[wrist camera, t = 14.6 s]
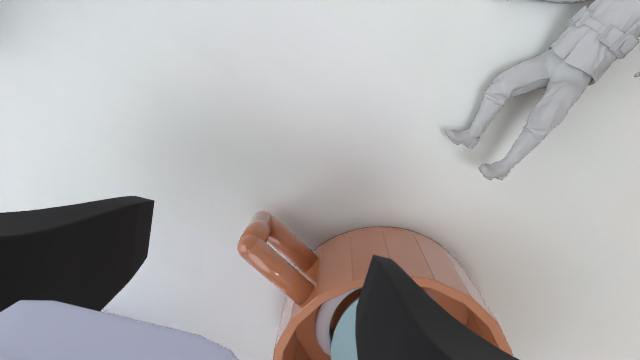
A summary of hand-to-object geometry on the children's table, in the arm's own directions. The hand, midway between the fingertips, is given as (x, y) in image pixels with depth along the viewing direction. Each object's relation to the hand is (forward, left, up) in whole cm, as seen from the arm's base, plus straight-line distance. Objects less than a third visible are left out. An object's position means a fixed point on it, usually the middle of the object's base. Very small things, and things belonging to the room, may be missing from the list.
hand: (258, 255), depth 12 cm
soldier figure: (+11, +9, -10) cm, 17 cm away
